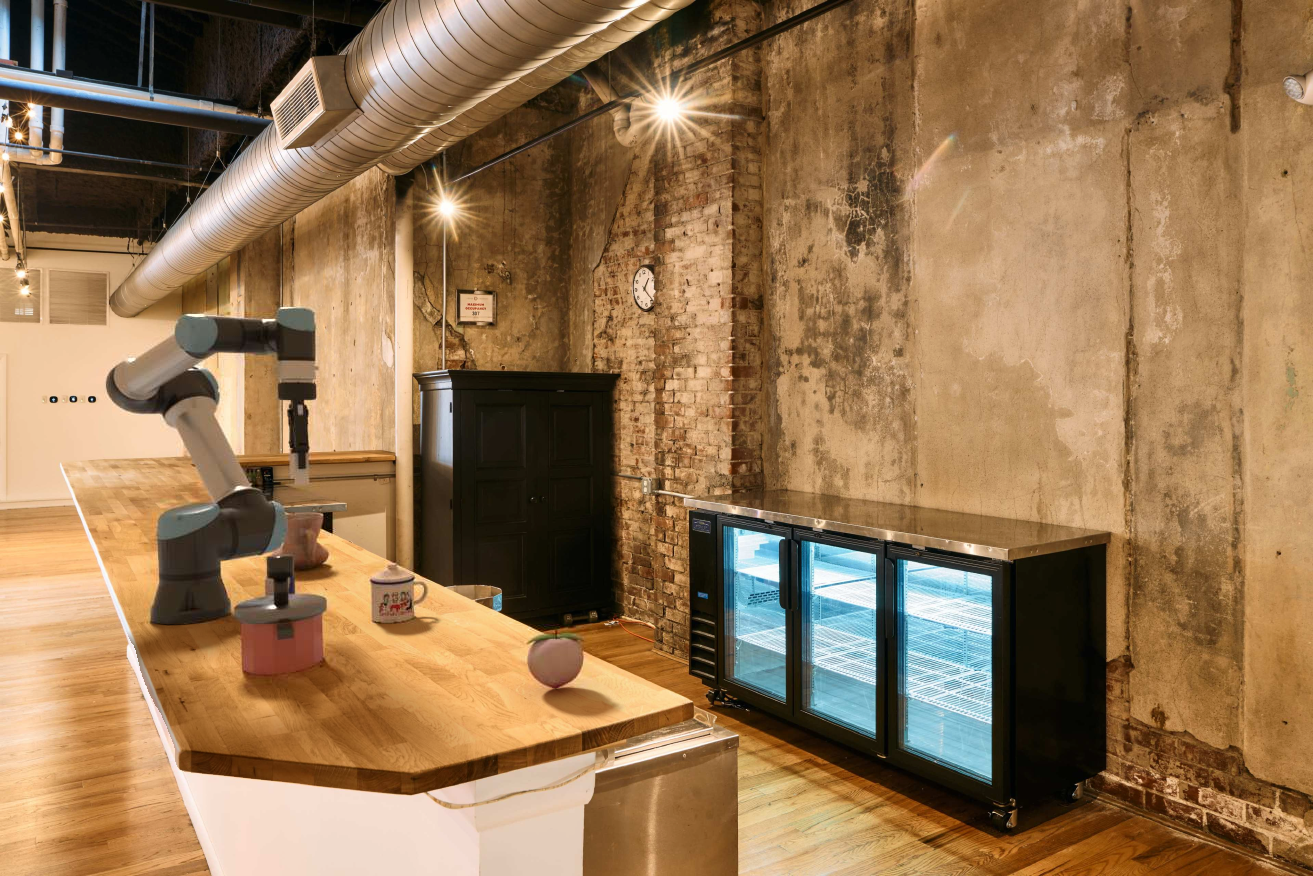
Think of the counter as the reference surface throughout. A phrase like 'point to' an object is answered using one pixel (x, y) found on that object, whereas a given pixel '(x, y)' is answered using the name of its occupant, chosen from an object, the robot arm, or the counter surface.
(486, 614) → the counter surface
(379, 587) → the teacup with lid
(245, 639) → the pot
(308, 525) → the ceramic jug
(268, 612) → the lid
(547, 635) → the decorative fruit
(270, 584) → the energy drink
